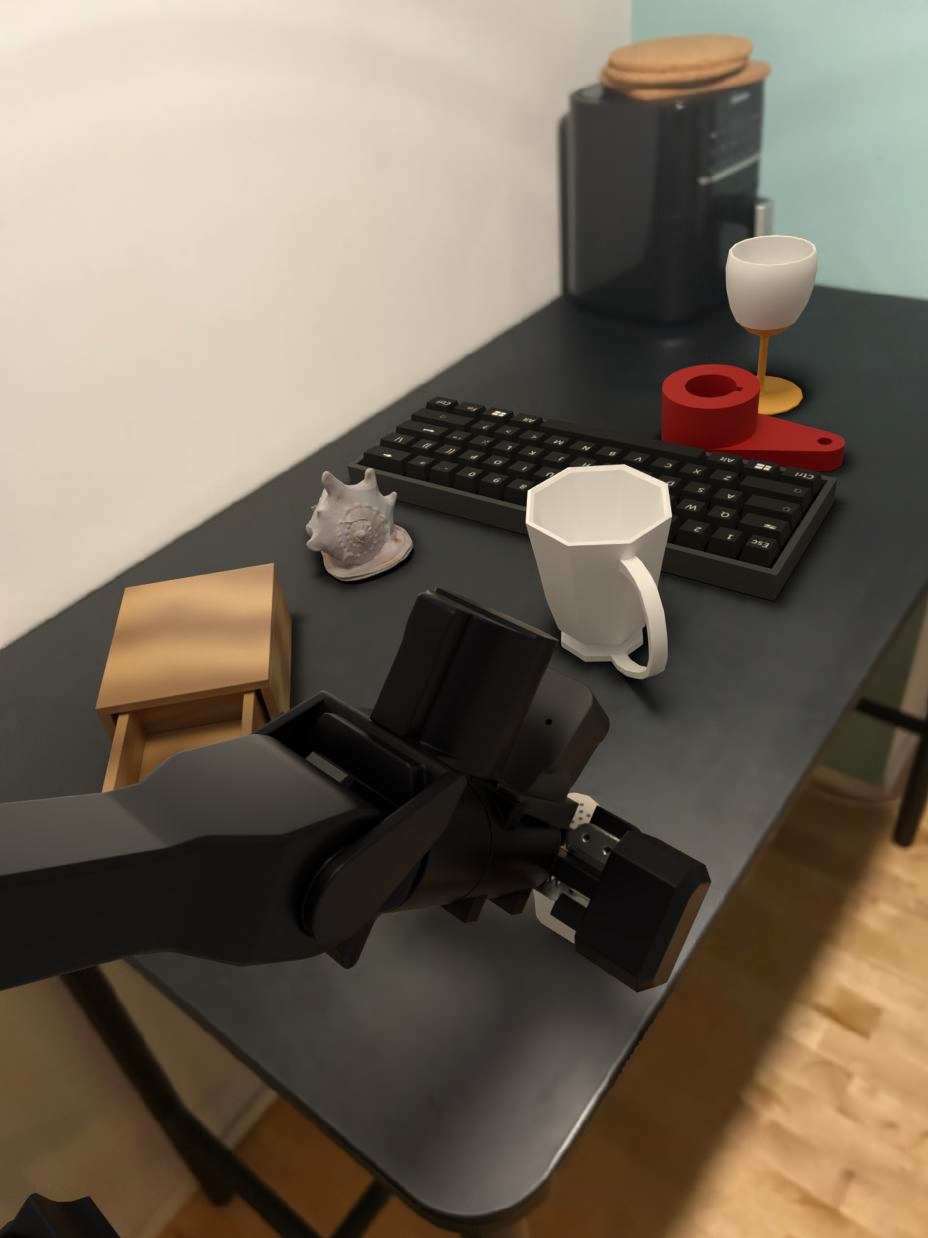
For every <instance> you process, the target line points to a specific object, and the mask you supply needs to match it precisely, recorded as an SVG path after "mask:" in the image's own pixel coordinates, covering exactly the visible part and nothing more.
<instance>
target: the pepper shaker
mask: <svg viewBox="0 0 928 1238" xmlns="http://www.w3.org/2000/svg"><path fill="white" fill-rule="evenodd" d="M567 797H568V798H570V799H572V800H574V801H575V802H577V803H579V806H578V808H577V810H576V813H575V815H574V817H573V820H572V822H571V824H570V827H572V828H574V829H575V828H576V827H578V826H579V825H580V824H583V823H589V822H590V819H591V817H592V815H593V812H594V810H595V808H596V806H597V805H598V806H600V807H601V805H600V804H599V803H597V802H596V801H595V800H594V799H593V798H592V797H591V796H590V795H587V794H582V793H578V792H570V793H568V796H567ZM560 847H561V848H563V849H565V850H566V844H565V845H564V846H560ZM566 851H568V850H566ZM553 878H555V877H553V876H552V879H553ZM551 881H552V880H551ZM559 883H560V882H559V881H558V884H559ZM532 891H533V898H534V899H533V900H534V908H535V909H534V910H535V917H536V918H537V920H538V921H539V922H540V923H541V924H542V925H543V926H545V927H547V928H548V929H550V930H551V931H553V932H555V933H556V934H558V935H559V936H561V937H562V938H564V939H565V940H568V941H569V942H570V943H572V944H574V945H575V941H574V935H575V933H576V931H575V930H573V929H571V928H570V927H568V926H567V925H565V924H564V923H562V922H561V921H559V920H558V919H556V918H555V917H553V916H552V915H550V912H551V910H552V907H553V905H554V903H555V901H552V900H550V899H549V898H547V897H545V896H544V895H542V894H541V893H539V892H538V891H536V890H535V889H532Z"/></svg>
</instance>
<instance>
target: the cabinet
mask: <svg viewBox="0 0 928 1238" xmlns="http://www.w3.org/2000/svg"><path fill="white" fill-rule="evenodd" d="M114 627H115V628H114V631H113V636H112V640H111V643H110V648H109V652H108V656H107V660H106V664H105V668H104V671H103V677H102V680H101V684H100V687H99V692H98V696H97V700H96V704H95V708H94V709H95V712H96V714H97V715H98V717H99V719H100V721H101V723H102V725H103V727H104V729H105V731H106V733H107V735H108V737H109V739H110V741H111V743H112V744H113V739H114V735H115V730H116V725H117V721H118V716H119V713H121V712H127V711H132V710H138V709H144V708H150V707H156V706H162V705H168V704H174V703H179V702H185V701H191V700H197V699H203V698H209V697H215V696H220V695H226V694H232V693H238V692H244V691H250V690H256V689H260V690H261V693H262V696H263V699H264V702H265V704H266V707H267V710H268V713H269V722H270V721H271V720H272V719H274V718H275V717H276V716H277V715H278V714H280V713H281V712H282V711H284V712H287V711H289V710H290V709H291V681H292V680H291V679H292V678H291V677H292V676H291V675H292V639H293V637H292V636H293V620H292V618H291V614H290V610H289V607H288V605H287V601H286V597H285V594H284V591H283V587H282V585H281V581H280V578H279V574H278V571H277V568H276V565H275V562H270V563H265V564H259V565H258V564H257V565H253V566H247V567H240V568H235V569H230V570H224V571H217V572H211V573H205V574H199V575H192V576H188V577H181V578H175V579H169V580H164V581H163V580H162V581H158V582H153V583H152V582H151V583H146V584H139V585H134V586H128V587H125V588H124V592H123V596H122V600H121V604H120V608H119V612H118V615H117V620H116V623H115V626H114Z"/></svg>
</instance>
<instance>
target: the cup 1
mask: <svg viewBox="0 0 928 1238" xmlns="http://www.w3.org/2000/svg"><path fill="white" fill-rule="evenodd" d="M671 519H672V513H671V506H670V498H669V491H668V484H667V483H665V482H663V481H660V480H658V479H656V478H654V477H651V476H649V475H647V474H645V473H642V472H640V471H638V470H636V469H633V468H631V467H629V466H627V465H605V466H587V467H568V468H567V469H565V470H563V471H561V472H560V473H558V474H556V475H554V476H553V477H551V478H549V479H547V480H546V481H544V482H542V483H540V484H539V485H537V486H535V487H533V488H532V489H530V490H528V497H527V511H526V526H527V530H528V534H529V535H528V537H529V540H530V545H531V548H532V551H533V555H534V559H535V562H536V566H537V570H538V574H539V578H540V581H541V585H542V589H543V594H544V597H545V600H546V603H547V605H548V608H549V610H550V612H551V614H552V618H553V620H554V621H555V625H556V627H557V629H558V630H559V631H561V632H560V637H561V638H560V640H561V641H560V644H561V647H562V648H563V649H565V650H566V651H568V652H570V653H571V654H573V655H574V656H576V657H577V658H579V659H580V660H582V661H583V662H585V663H592V662H595V663H596V662H611V663H612V664H613V666H614V667H615V668H616V670H617V671H619V672H620V673H621V674H622V675H624V676H625V677H629V678H632V679H636V680H637V679H638V680H644V679H648V678H651V677H654V676H658V675H659V674H661V673H663V672H665V670H666V665H667V663H668V660H669V659H668V658H669V651H668V647H669V646H668V645H669V644H668V632H667V623H666V615H665V611H664V606H663V603H662V600H661V597H660V593H659V589H658V586H659V581H660V575H661V572H662V571H661V566H662V561H663V556H664V552H665V547H666V543H667V539H668V534H669V529H670V524H671ZM645 627H646V632H647V641H648V662H647V664H646V666H643V665H639V664H638V663H637V662H635V661H633V660H632V659H631V657H630V656H629V655H630V654H631V653H633V652H634V651H636V650H637V649H638V648H640V647H641V646H642V645H644V635H643V629H644V628H645Z"/></svg>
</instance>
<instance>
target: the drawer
mask: <svg viewBox="0 0 928 1238" xmlns="http://www.w3.org/2000/svg"><path fill="white" fill-rule="evenodd" d="M267 723H269V713H268V710H267V707H266V704H265V702H264V699H263V696H262V693H261V690H260V689H256V690H250V691H244V692H238V693H232V694H226V695H220V696H215V697H209V698H203V699H197V700H191V701H185V702H179V703H174V704H168V705H162V706H156V707H150V708H144V709H138V710H132V711H127V712H121V713H119V716H118V721H117V725H116V730H115V735H114V739H113V743H112V745H111V747H110V753H109V758H108V763H107V767H106V771H105V775H104V780H103V786H102V791H101V793H102V792H108V791H111V790H115V789H119V788H122V787H126V786H130V785H134V784H137V783H138V782H140V781H141V780H142V779H143V778H144V777H145V776H147V775H148V774H149V773H150V772H151V771H152V770H154V769H155V768H156V767H157V766H158V765H159V764H161V763H162V762H163V761H164V760H165V759H166V758H168V757H170V756H171V755H173V754H175V753H178V752H181V751H185V750H189V749H193V748H197V747H201V746H205V745H209V744H213V743H217V742H221V741H225V740H229V739H233V738H237V737H241V736H246V735H249V734H251V733H252V732H254V731H256V730H257V729H259V728H261V727H262V726H264V725H266V724H267Z"/></svg>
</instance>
